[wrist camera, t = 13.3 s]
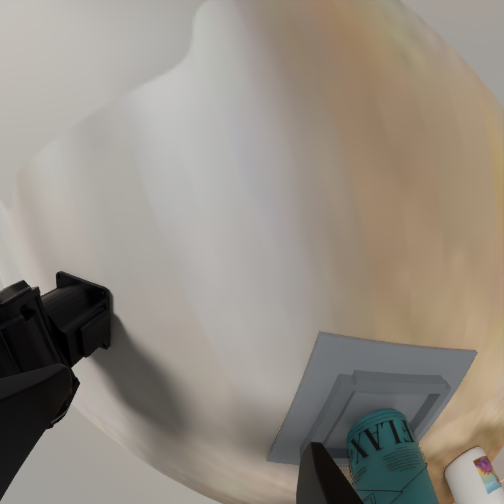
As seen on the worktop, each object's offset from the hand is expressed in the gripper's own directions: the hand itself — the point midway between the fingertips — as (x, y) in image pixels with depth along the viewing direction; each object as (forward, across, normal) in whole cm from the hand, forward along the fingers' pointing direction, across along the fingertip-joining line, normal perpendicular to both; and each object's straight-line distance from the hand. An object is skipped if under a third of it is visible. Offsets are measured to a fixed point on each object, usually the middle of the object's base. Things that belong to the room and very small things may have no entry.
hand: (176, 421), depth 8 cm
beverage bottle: (+13, -16, +11) cm, 23 cm away
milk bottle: (+13, -42, +24) cm, 50 cm away
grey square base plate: (+13, -16, +11) cm, 23 cm away
